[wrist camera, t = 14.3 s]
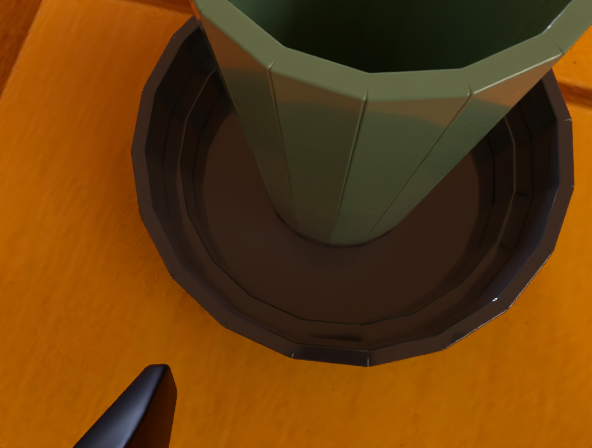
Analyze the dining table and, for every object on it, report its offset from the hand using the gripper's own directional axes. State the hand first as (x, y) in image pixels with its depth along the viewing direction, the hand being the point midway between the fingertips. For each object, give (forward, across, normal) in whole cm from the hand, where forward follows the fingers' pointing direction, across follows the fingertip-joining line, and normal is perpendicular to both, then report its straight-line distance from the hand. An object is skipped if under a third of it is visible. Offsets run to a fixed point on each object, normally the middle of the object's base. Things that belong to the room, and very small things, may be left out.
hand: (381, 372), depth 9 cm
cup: (+10, 0, 0) cm, 10 cm away
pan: (+11, 0, +1) cm, 11 cm away
